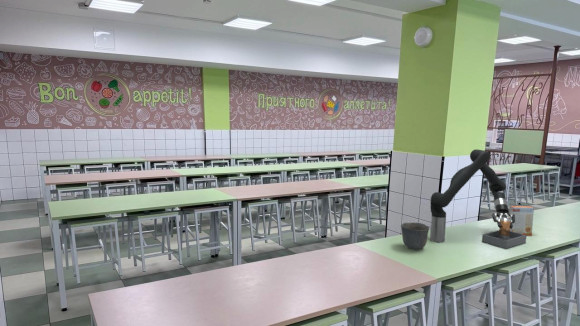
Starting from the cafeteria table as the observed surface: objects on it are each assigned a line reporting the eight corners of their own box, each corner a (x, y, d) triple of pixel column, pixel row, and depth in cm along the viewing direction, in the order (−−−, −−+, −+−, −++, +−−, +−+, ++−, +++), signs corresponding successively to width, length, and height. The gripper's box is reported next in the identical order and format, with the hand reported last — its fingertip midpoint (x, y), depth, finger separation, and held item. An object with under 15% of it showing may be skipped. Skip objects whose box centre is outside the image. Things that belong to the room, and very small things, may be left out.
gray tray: (505, 249, 229) (506, 241, 228) (481, 242, 242) (482, 234, 242) (525, 243, 241) (526, 235, 240) (501, 236, 255) (502, 229, 254)
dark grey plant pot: (431, 254, 219) (432, 230, 218) (401, 252, 223) (402, 229, 221) (426, 244, 237) (427, 222, 235) (398, 243, 240) (399, 221, 238)
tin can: (500, 237, 239) (501, 218, 238) (497, 234, 245) (499, 216, 243) (510, 238, 238) (512, 219, 236) (507, 235, 243) (509, 217, 242)
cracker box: (527, 233, 262) (529, 205, 259) (532, 236, 256) (534, 207, 253) (507, 232, 263) (509, 205, 261) (511, 235, 257) (513, 207, 255)
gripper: (491, 202, 248) (495, 224, 238) (514, 204, 244) (519, 225, 234) (488, 208, 253) (492, 229, 244) (511, 209, 250) (516, 231, 240)
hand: (505, 227), depth 239 cm, fingers closed on tin can, 6 cm apart
